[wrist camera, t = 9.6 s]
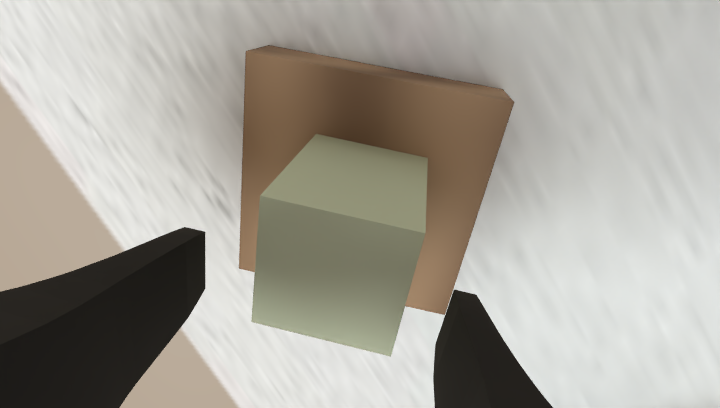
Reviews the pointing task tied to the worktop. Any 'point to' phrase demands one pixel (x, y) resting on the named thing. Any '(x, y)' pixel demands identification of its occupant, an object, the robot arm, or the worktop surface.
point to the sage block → (340, 243)
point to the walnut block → (375, 143)
